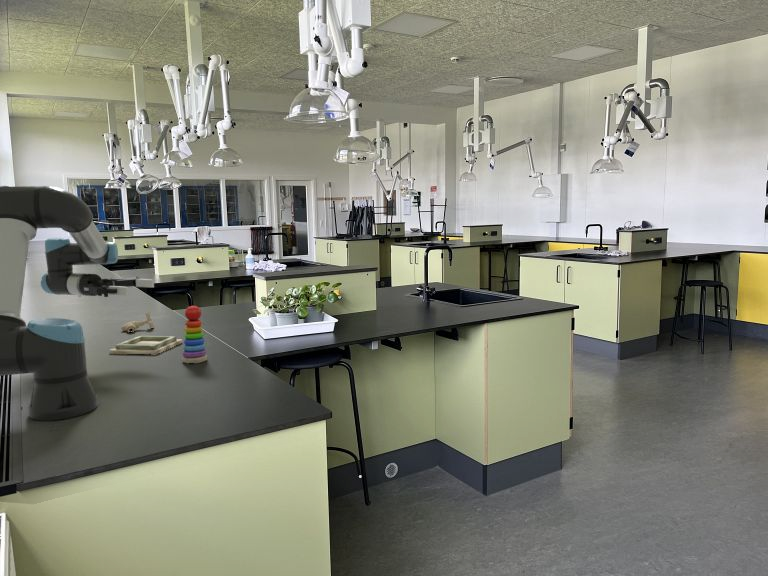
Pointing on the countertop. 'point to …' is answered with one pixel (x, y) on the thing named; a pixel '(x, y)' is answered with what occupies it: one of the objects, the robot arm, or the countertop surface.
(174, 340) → the rimmed tray
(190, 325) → the stacking toy
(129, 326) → the beige animal figurine
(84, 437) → the countertop surface
